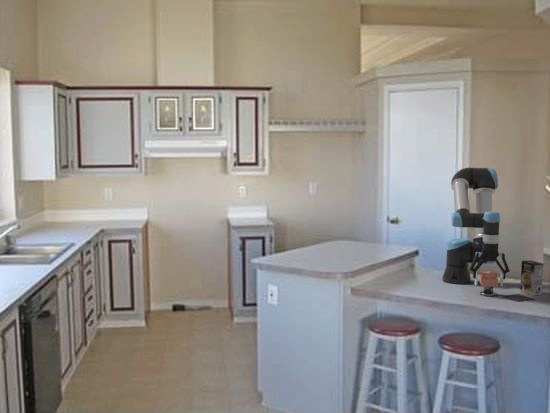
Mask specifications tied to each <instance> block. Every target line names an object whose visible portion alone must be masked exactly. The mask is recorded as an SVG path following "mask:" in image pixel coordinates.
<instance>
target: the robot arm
mask: <svg viewBox="0 0 550 413" xmlns="http://www.w3.org/2000/svg"><path fill="white" fill-rule="evenodd" d="M497 174H498V173H497V170H496V169H495V168H492V167H491V168H490V167H464V168H461V169H460V170H458V171H457V172H456V173H455V174H454V175H453V177H452V179H451V182H450V185H451V186H450V187H451V189H452V191H453V200H454V212H452V214H451V226H452V227H454V228H469V229H470V228H472V229H473V228H475V236H474V237H473V238H472V241H471V240H470V239H469V238H464V237H463V238H462V237H461V238H454V239H450V240H448V241H447V244H446V261H445V262H446V264H445V269H444V272H443V274H442V277H441V278H442V279H441V280H442V281H443V282H444V283H447V284H453V285H455V284H456V285H465V284H470V283H472V279H474V285H475V286H478V277H479V276H478V275H479V274H478V270H479V269H480V268H481V266H483V265H487V264H488V265H492V264H496V265H497V266H498V268H499V270H501V271H500V276H499V277H500V279H499V286H500V287H504V281H505V280H506V274H507V273H510V267H509V266H508V263H507V260H506V254H505V253H504V252H500V253H499V240H500V239H499V238H500V221H501V218H500V217H501V216H500V212H498V211H493V194H494V193H495V191H496V190H497V189H498V187H499V186H498V185H499V184H498V182H499V180H498V175H497ZM469 189H472V192H473V193H474V194H475V212H471V207H470V198H469ZM498 257H500V258H501V260H502V263H503V266H504V267H503V266H502V264H501V263H500V261H499V259H498ZM469 264H471V265H470V267H469ZM470 272H472V277H471V273H470Z"/></svg>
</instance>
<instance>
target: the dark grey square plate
mask: <svg viewBox="0 0 550 413" xmlns="http://www.w3.org/2000/svg"><path fill="white" fill-rule="evenodd" d="M502 297H503V298H506V299H508V300H512V301H515V302H524V301H525V300H526V301H533V300H535V298H533V297H530V296H527V295H523V294H521V293H514V294H504V295H502Z"/></svg>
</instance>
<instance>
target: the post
mask: <svg viewBox="0 0 550 413" xmlns="http://www.w3.org/2000/svg"><path fill="white" fill-rule="evenodd" d="M497 294H498V293H497V292H496V291H494V287H489V286H483V290H481V291H479V295H481V296H482V295H483V296H482V297H493V298H494V297H496V296H497Z"/></svg>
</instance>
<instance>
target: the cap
mask: <svg viewBox="0 0 550 413" xmlns="http://www.w3.org/2000/svg"><path fill="white" fill-rule="evenodd" d="M497 274H498V273H497V272H494V271H482V272H481V275H480V276H479V284H480V285H481V286H482V287H484V286H489V287H493V288H495V287H496V288H498V286H499V284H498V283H499V278H498V277H497Z"/></svg>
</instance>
